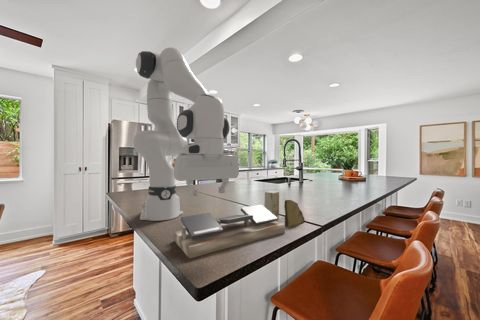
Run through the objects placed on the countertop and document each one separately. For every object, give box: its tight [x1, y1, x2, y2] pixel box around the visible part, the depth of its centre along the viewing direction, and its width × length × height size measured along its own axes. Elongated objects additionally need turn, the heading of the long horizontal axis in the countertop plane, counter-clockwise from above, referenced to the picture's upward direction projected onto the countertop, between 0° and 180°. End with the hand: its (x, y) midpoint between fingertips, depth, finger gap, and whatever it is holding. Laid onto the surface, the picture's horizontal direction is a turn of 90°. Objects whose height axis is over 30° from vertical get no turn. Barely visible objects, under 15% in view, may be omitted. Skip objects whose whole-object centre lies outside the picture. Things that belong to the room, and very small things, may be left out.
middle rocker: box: [215, 214, 253, 224], centre depth 71 cm, size 10×10×1 cm
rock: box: [283, 199, 306, 228], centre depth 85 cm, size 11×9×10 cm
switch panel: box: [173, 210, 286, 259], centre depth 71 cm, size 14×36×6 cm, turn 124°
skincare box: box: [264, 190, 280, 219], centre depth 91 cm, size 6×4×12 cm
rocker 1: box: [180, 212, 223, 240], centre depth 64 cm, size 10×10×1 cm
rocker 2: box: [240, 204, 279, 226], centre depth 77 cm, size 10×10×1 cm
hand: (208, 194), depth 62 cm, fingers open, 8 cm apart
